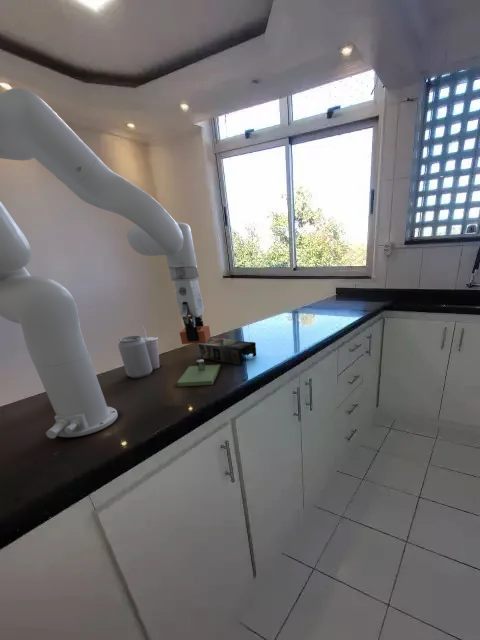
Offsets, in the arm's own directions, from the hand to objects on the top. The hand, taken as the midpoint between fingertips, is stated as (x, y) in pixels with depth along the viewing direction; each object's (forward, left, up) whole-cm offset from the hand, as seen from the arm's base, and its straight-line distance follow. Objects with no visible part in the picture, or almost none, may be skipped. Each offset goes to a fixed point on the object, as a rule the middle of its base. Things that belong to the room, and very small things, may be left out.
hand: (196, 336), depth 93 cm
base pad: (-3, 0, -12) cm, 12 cm away
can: (+1, +20, -12) cm, 23 cm away
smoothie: (+8, +18, -12) cm, 23 cm away
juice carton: (+14, -6, -12) cm, 19 cm away
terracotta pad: (0, 0, -1) cm, 1 cm away
